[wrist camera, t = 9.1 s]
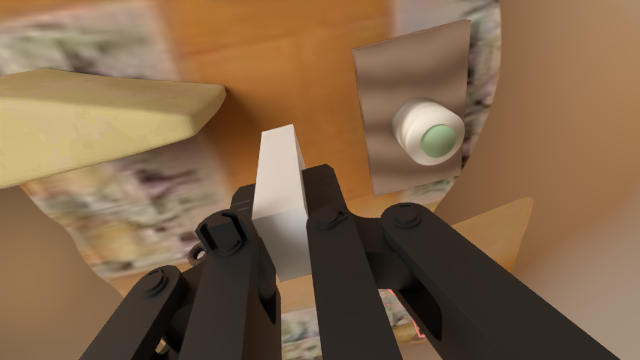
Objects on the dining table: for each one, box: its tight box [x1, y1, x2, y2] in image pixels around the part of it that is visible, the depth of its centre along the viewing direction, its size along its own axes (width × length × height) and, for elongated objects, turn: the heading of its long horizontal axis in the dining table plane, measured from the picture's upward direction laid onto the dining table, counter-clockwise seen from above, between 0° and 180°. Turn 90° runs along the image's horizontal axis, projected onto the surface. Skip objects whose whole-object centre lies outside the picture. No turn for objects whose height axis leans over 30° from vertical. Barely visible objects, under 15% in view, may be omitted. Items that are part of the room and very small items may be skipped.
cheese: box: [0, 68, 226, 188], centre depth 33 cm, size 22×10×15 cm, turn 93°
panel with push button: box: [352, 19, 471, 197], centre depth 37 cm, size 22×14×8 cm, turn 13°
